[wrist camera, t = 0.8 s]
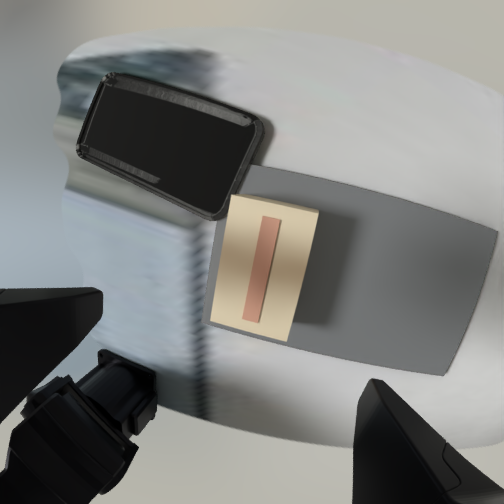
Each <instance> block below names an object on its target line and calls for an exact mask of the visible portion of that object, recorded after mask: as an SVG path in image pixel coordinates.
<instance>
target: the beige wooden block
mask: <svg viewBox="0 0 504 504" xmlns="http://www.w3.org/2000/svg"><path fill="white" fill-rule="evenodd" d="M318 214H319V210H317V209H313V208H308V207H304V206H299V205H295V204H290V203H286V202H281V201H277V200H272V199H267V198H262V197H258V196H253V195H248V194H235V195H231V200H230V205H229V211H228V217H227V222H226V228H225V233H224V239H223V245H222V251H221V257H220V263H219V269H218V275H217V281H216V287H215V293H214V299H213V306H212V312H211V318H210V321H212V322H216V323H219V324H223V325H226V326H229V327H233V328H237V329H240V330H244V331H247V332H251V333H255V334H258V335H262V336H266V337H270V338H274V339H278V340H281V341H285V342H287V339H288V335H289V331H290V328H291V324H292V320H293V317H294V313H295V309H296V305H297V302H298V298H299V294H300V290H301V286H302V282H303V278H304V274H305V270H306V266H307V262H308V258H309V254H310V249H311V245H312V241H313V237H314V232H315V228H316V223H317V219H318Z"/></svg>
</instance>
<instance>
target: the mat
mask: <svg viewBox="0 0 504 504" xmlns="http://www.w3.org/2000/svg"><path fill="white" fill-rule="evenodd" d="M236 194H248V195H253V196H258V197H262V198H267V199H272V200H277V201H281V202H286V203H290V204H295V205H299V206H304V207H308V208H313V209H317V210H319V214H318V219H317V223H316V228H315V232H314V237H313V241H312V245H311V249H310V254H309V258H308V262H307V266H306V270H305V274H304V278H303V282H302V286H301V290H300V294H299V298H298V302H297V305H296V309H295V313H294V317H293V320H292V324H291V328H290V331H289V335H288V339H287V342H285V341H281V340H278V339H274V338H270V337H266V336H262V335H258V334H255V333H251V332H247V331H244V330H240V329H237V328H233V327H229V326H226V325H223V324H219V323H216V322H212V321H210V318H211V312H212V306H213V299H214V293H215V287H216V281H217V275H218V269H219V263H220V257H221V251H222V245H223V239H224V233H225V228H226V222H227V217H228V212H227V214H226V215H225V216H224V217H223V218H222V219H219V220H217V224H216V230H215V236H214V242H213V248H212V255H211V261H210V267H209V274H208V280H207V287H206V293H205V300H204V307H203V314H202V321H201V323H205V324H208V325H211V326H215V327H218V328H221V329H225V330H228V331H232V332H235V333H239V334H242V335H246V336H250V337H253V338H257V339H261V340H264V341H268V342H272V343H276V344H280V345H284V346H288V347H292V348H296V349H300V350H304V351H309V352H313V353H317V354H322V355H326V356H331V357H336V358H340V359H345V360H350V361H355V362H360V363H365V364H370V365H376V366H381V367H387V368H392V369H398V370H404V371H411V372H417V373H424V374H431V375H438V376H444V375H445V373H446V371H447V369H448V367H449V365H450V363H451V361H452V359H453V357H454V355H455V353H456V350H457V348H458V346H459V344H460V342H461V339H462V337H463V335H464V332H465V330H466V328H467V325H468V323H469V320H470V318H471V315H472V313H473V310H474V307H475V305H476V302H477V299H478V296H479V294H480V291H481V288H482V285H483V282H484V279H485V275H486V272H487V269H488V266H489V262H490V259H491V255H492V252H493V248H494V244H495V240H496V236H497V232H498V231H495V230H493V229H490V228H487V227H485V226H482V225H479V224H476V223H474V222H471V221H468V220H465V219H462V218H459V217H456V216H453V215H450V214H447V213H444V212H441V211H438V210H435V209H432V208H428V207H425V206H422V205H419V204H415V203H412V202H409V201H405V200H402V199H398V198H395V197H391V196H388V195H384V194H380V193H377V192H373V191H369V190H365V189H362V188H358V187H354V186H350V185H346V184H342V183H337V182H333V181H329V180H325V179H320V178H316V177H311V176H307V175H302V174H297V173H293V172H288V171H283V170H278V169H273V168H268V167H262V166H257V165H251V164H249V166H248V168H247V170H246V172H245V174H244V177H243V179H242V181H241V183H240V185H239V188H238V190H237V192H236ZM228 211H229V210H228Z"/></svg>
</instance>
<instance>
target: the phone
mask: <svg viewBox="0 0 504 504" xmlns="http://www.w3.org/2000/svg"><path fill="white" fill-rule="evenodd" d="M264 134H265V131H264V126H263V123H262V122H261V121H260V120H259V119H258V118H257V117H256V116H254V115H252V114H250V113H247V112H245V111H242V110H239V109H237V108H234V107H231V106H228V105H226V104H223V103H220V102H217V101H214V100H211V99H208V98H205V97H202V96H199V95H196V94H193V93H190V92H187V91H183V90H180V89H177V88H173V87H170V86H166V85H163V84H159V83H156V82H152V81H148V80H144V79H141V78H137V77H133V76H128V75H124V74H120V73H115V72H111V73H108V74H107V75H105V76H104V77H103V79H102V80H101V82H100V84H99V86H98V88H97V91H96V93H95V95H94V98H93V100H92V103H91V105H90V108H89V110H88V113H87V115H86V118H85V121H84V123H83V126H82V129H81V132H80V134H79V137H78V140H77V144H76V151H77V154H78V156H79V157H80V158H82V159H84V160H86V161H88V162H90V163H92V164H94V165H96V166H98V167H100V168H102V169H104V170H106V171H108V172H110V173H112V174H114V175H117V176H119V177H121V178H123V179H125V180H127V181H129V182H131V183H133V184H135V185H137V186H139V187H141V188H143V189H145V190H147V191H149V192H151V193H153V194H155V195H157V196H159V197H161V198H163V199H165V200H167V201H169V202H171V203H174V204H176V205H178V206H180V207H182V208H184V209H186V210H188V211H190V212H192V213H194V214H196V215H198V216H200V217H202V218H204V219H206V220H209V221H216V220H219V219H222V218H223V217H224V216H225V215H226V214H227V212H228V210H229V205H230V200H231V195H235V194H236V192H237V190H238V188H239V185H240V183H241V181H242V179H243V177H244V174H245V172H246V170H247V168H248V166H249V164H252V161H253V159H254V157H255V155H256V153H257V151H258V148H259V146H260V144H261V142H262V140H263V137H264Z"/></svg>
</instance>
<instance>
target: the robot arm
mask: <svg viewBox="0 0 504 504" xmlns="http://www.w3.org/2000/svg"><path fill="white" fill-rule="evenodd" d="M102 314H103V293H102V291H100V290H98V289H96V288H94V287H79V288H24V289H23V288H20V289H0V424H1V423H2V421H3V420H4V419H5V418H6V417H7V416H8V415H9V414H10V413H11V412H12V411H13V410H14V409H15V408H16V407H17V405H19V403H20V402H22V400H23V399H24V398H25V397H26V396H27V403H26V404H25V406H24V409H23V410H22V411H21V412H20V414H21V415H22V416H23V418H24V420H23V421H22V422H21V423H20V424H19V425H18V426H16V427H15V428H14V429H13V430H12V433H11V437H10V442H9V448H8V452H7V459H6V464H5V468H4V470H3V471H2V472H0V504H89V503H90V501H91V500H92V499H93V498H94V497H95V496H96V495H97V494H98V493H99V494H101V495H103V494H105V493H107V492H109V491H110V490H111V489H113V488H114V487H115V486H116V485H117V484H118V483H119V482H120V481H121V479H122V478H123V477H124V475H125V473H126V472H127V470H128V468H129V466H130V464H131V462H132V460H133V458H134V456H135V454H136V452H137V450H138V448H139V447H138V446H137V445H136V444H135V443H132V442H131V441H130V440H129V438H130V437H131V436H132V435H136V436H137V435H139V434H140V433H141V431H142V430H143V429H144V427H145V426H146V425H147V423H148V422H149V421H150V420H153V419H154V417H155V413H156V411H157V393H156V392H155V391H156V375H155V373H154V372H153V371H151V370H149V369H146V368H144V367H141V366H139V365H137V364H134V363H132V362H130V361H127V360H125V359H123V358H121V357H118V356H116V355H114V354H112V353H110V352H108V351H105V350H103V349H101V350H99V351H98V365H97V366H96V367H95V368H94V369H93V370H91V371H90V372H89V373H88V374H86V375H85V376H84V377H83V378H81V379H80V380H79V381H78V382H77V383H74V381H73V380H72V378H71V377H70V375H67V376H65V377H64V378H62V377H58V376H57V377H55V378H54V379H53V380H52V381H50V382H49V383H47V384H46V385H44V386H42V387H40V388H37V389H36V390H33V389H34V388H35V387H36V386H37V385H38V384H39V383H40V382H41V381H42V380H43V379H44V378H45V377H46V376H47V375H48V374H49V373H50V372H51V371H52V370H53V369H54V368H56V366H58V365H59V364H60V362H61V361H62V360H64V359H65V358H66V357H67V356H68V355H69V354H70V353H71V352H72V351H73V350H74V349H75V348H76V347H77V346H78V345H79V344H80V342H81V341H82V340H83V339H84V338H85V336H87V334H88V333H89V332H90V331H91V330H92V328H93V327H94V326H95V325H96V324H97V323H98V322H99V320H100V319H101V317H102ZM102 354H103V355H102ZM32 390H33V391H32ZM352 504H504V489H503V488H502V487H500V486H499V485H497V484H496V483H495V482H494V481H492V480H491V479H490V478H489V477H487V476H486V475H485V474H483V473H482V472H481V471H480V470H479V469H477V468H476V467H475V466H474V465H472V464H471V463H470V462H469V461H468V460H466V459H465V458H464V457H463V456H462V455H461V454H459V452H457V451H456V450H455V449H454V448H453V447H452V446H451V445H450V444H449V443H448V442H446V440H445V439H444V438H443V437H442V436H441V435H440V434H438V433H437V432H436V431H435V430H434V429H433V428H432V427H431V426H430V425H429V424H428V423H427V422H426V421H425V420H424V419H423V418H422V417H421V416H420V415H419V414H418V413H417V412H416V411H414V410H413V409H412V408H411V407H410V406H409V405H408V404H407V403H406V402H405V401H404V400H403V399H402V398H401V397H400V396H399V395H398V394H397V393H396V392H395V391H394V390H393V389H392V388H391V387H389V386H388V385H387V384H386V383H385V382H384V381H383V380H379V379H374V378H372V379H370V380H369V381H368V383H367V385H366V387H365V389H364V391H363V393H362V395H361V397H360V399H359V401H358V405H357V415H356V425H355V434H354V443H353V499H352Z"/></svg>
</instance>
